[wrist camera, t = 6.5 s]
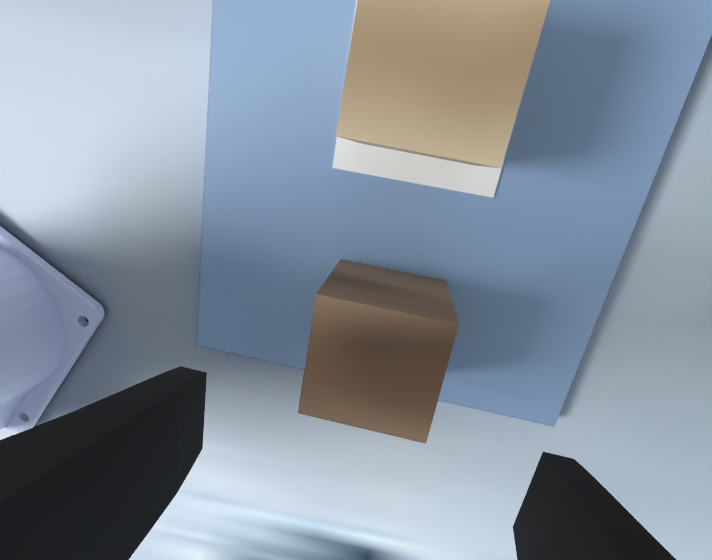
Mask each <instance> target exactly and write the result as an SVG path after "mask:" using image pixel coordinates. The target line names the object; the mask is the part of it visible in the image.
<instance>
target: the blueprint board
mask: <svg viewBox="0 0 712 560" xmlns="http://www.w3.org/2000/svg"><path fill="white" fill-rule="evenodd" d="M356 6H357V0H213V5H212V26H211V48H210V69H209V91H208V113H207V134H206V156H205V178H204V199H203V221H202V243H201V264H200V286H199V308H198V329H197V345H198V346H203V347H207V348H211V349H216V350H220V351H225V352H229V353H233V354H238V355H242V356H247V357H251V358H255V359H260V360H264V361H268V362H273V363H277V364H282V365H286V366H290V367H295V368H299V369H304V370H305V363H306V356H307V349H308V343H309V336H310V329H311V322H312V315H313V309H314V302H315V295H316V293H317V291H318V290H319V289H320V287H321V286H322V284H323V283H324V282H325V280H326V279H327V278H328V276H329V275H330V273H331V272H332V271H333V269H334V268H335V266H336V265H337V264H338V262H339V261H340V259H342V260H347V261H352V262H357V263H362V264H367V265H372V266H377V267H382V268H386V269H391V270H396V271H401V272H406V273H411V274H416V275H421V276H426V277H431V278H435V279H440V280H445V281H447V284H448V287H449V291H450V294H451V298H452V301H453V305H454V308H455V312H456V315H457V319H458V322H459V327H458V330H457V334H456V337H455V341H454V344H453V348H452V352H451V355H450V359H449V362H448V366H447V369H446V373H445V377H444V380H443V384H442V387H441V391H440V394H439V398H438V400H439V401H444V402H448V403H453V404H457V405H461V406H466V407H470V408H474V409H479V410H483V411H488V412H492V413H496V414H501V415H505V416H510V417H514V418H518V419H523V420H527V421H531V422H536V423H540V424H545V425H549V426H553V427H554V426H555V424H556V421H557V419H558V416H559V414H560V411H561V409H562V406H563V404H564V401H565V399H566V396H567V394H568V391H569V389H570V386H571V384H572V381H573V379H574V376H575V374H576V371H577V369H578V366H579V364H580V361H581V359H582V356H583V354H584V351H585V349H586V346H587V344H588V341H589V339H590V336H591V334H592V331H593V329H594V326H595V324H596V321H597V319H598V316H599V314H600V312H601V309H602V307H603V304H604V302H605V299H606V297H607V294H608V292H609V289H610V287H611V284H612V282H613V279H614V277H615V274H616V272H617V269H618V267H619V264H620V262H621V259H622V257H623V254H624V252H625V249H626V247H627V244H628V242H629V239H630V237H631V234H632V232H633V229H634V227H635V224H636V222H637V219H638V217H639V214H640V212H641V209H642V207H643V204H644V202H645V200H646V197H647V195H648V192H649V190H650V187H651V185H652V182H653V180H654V177H655V175H656V172H657V170H658V167H659V165H660V162H661V160H662V157H663V155H664V152H665V150H666V147H667V145H668V142H669V140H670V137H671V135H672V132H673V130H674V127H675V125H676V122H677V120H678V117H679V115H680V112H681V110H682V107H683V105H684V102H685V100H686V97H687V95H688V92H689V90H690V88H691V85H692V83H693V80H694V78H695V75H696V73H697V70H698V68H699V65H700V63H701V60H702V58H703V55H704V53H705V50H706V48H707V45H708V43H709V40H710V38H711V35H712V0H550V3H549V7H548V10H547V14H546V17H545V21H544V24H543V27H542V31H541V34H540V38H539V41H538V44H537V48H536V51H535V55H534V58H533V61H532V65H531V68H530V72H529V75H528V79H527V82H526V85H525V89H524V92H523V96H522V99H521V102H520V106H519V109H518V113H517V116H516V120H515V123H514V126H513V130H512V133H511V137H510V140H509V143H508V147H507V150H506V154H505V157H504V160H503V164H502V167H501V168H495V167H485V166H475V165H470V164H465V163H459V162H454V161H449V160H444V159H439V158H434V157H429V156H423V155H418V154H413V153H408V152H403V151H398V150H393V149H387V148H382V147H377V146H372V145H367V144H362V143H357V142H354V141H351V140H347V139H344V138H341V137H338V136H336V132H337V126H338V119H339V113H340V107H341V101H342V94H343V88H344V82H345V75H346V69H347V63H348V56H349V50H350V44H351V37H352V31H353V25H354V18H355V12H356Z"/></svg>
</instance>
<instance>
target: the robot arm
mask: <svg viewBox="0 0 712 560" xmlns="http://www.w3.org/2000/svg"><path fill="white" fill-rule="evenodd" d="M104 315H105V314H104V309H103V307H102V305H101V304H100V303H99V302H97V301H96V300H95V299H93V298H92V297H91V296H90V295H88V294H87V293H86V292H84V291H83V290H82V289H81V288H79V287H78V286H77V285H75V284H74V283H73V282H72V281H70V280H69V279H68V278H66V277H65V276H64V275H63V274H61V273H60V272H59V271H57V270H56V269H55V268H54V267H52V266H51V265H50V264H48V263H47V262H46V261H45V260H43V259H42V258H41V257H39V256H38V255H37V254H36V253H34V252H33V251H32V250H30V249H29V248H28V247H27V246H25V245H24V244H23V243H21V242H20V241H19V240H18V239H16V238H15V237H14V236H12V235H11V234H10V233H9V232H7V231H6V230H5V229H3V228H2V227H1V226H0V429H2V428H3V427H4V428H5V429H7V430H8V431H9V432H11V433H12V434H14V435H12V436H10V437H7V438H5V439H2V440H0V560H129V558H130V557H131V556H132V554H133V553H134V551H135V550H136V549H137V547H138V546H139V545H140V543H141V542H142V541H143V539H144V538H145V537H146V535H147V534H148V532H149V531H150V530H151V528H152V527H153V526H154V524H155V523H156V521H157V520H158V519H159V517H160V516H161V515H162V513H163V512H164V510H165V509H166V508H167V506H168V505H169V503H170V502H171V501H172V499H173V498H174V496H175V495H176V494H177V492H178V490H179V489H180V487H181V485H182V483H183V482H184V480H185V478H186V477H187V475H188V473H189V472H190V470H191V468H192V466H193V464H194V463H195V461H196V459H197V457H198V455H199V454H200V452H201V450H202V446H203V428H204V410H205V392H206V374H207V373H206V372H201V371H197V370H193V369H189V368H184V367H178V368H175V369H172V370H170V371H167V372H165V373H162V374H160V375H157V376H155V377H153V378H150V379H148V380H146V381H143V382H141V383H139V384H136V385H134V386H132V387H130V388H127V389H125V390H123V391H120V392H118V393H116V394H113V395H111V396H109V397H106V398H104V399H102V400H99V401H97V402H95V403H92V404H90V405H88V406H85V407H83V408H81V409H78V410H76V411H74V412H71V413H69V414H66V415H64V416H61V417H58V418H56V419H53V420H51V421H48V422H46V423H43V424H41V425H38V426H35V424H36V423H37V421H38V419H39V418H40V416H41V415H42V413H43V412H44V410H45V408H46V407H47V405H48V404H49V402H50V401H51V399H52V397H53V396H54V394H55V393H56V391H57V390H58V388H59V387H60V385H61V383H62V382H63V380H64V379H65V377H66V376H67V374H68V372H69V371H70V369H71V368H72V366H73V365H74V363H75V361H76V360H77V358H78V357H79V355H80V354H81V352H82V351H83V349H84V347H85V346H86V344H87V343H88V341H89V340H90V338H91V336H92V335H93V333H94V332H95V330H96V329H97V327H98V325H99V324H100V322H101V321H102V319H103V317H104ZM85 317H86V318H87V319H88V322H87V321H86V319H85ZM34 426H35V427H34ZM513 530H514V537H515V545H516V552H517V559H518V560H676V559H675V558H674V557H673V556H672V555H671V554H670V553H669V552H668V551H667V550H666V549H665V548H664V547H663V546H662V545H661V544H660V543H659V542H658V541H657V540H656V539H655V538H654V537H653V536H652V535H651V534H650V533H649V532H648V531H647V530H646V529H645V528H644V527H643V526H642V525H641V524H640V523H639V522H638V521H637V520H636V519H635V518H634V517H633V516H632V515H631V514H630V513H629V512H628V511H627V510H626V509H625V508H624V507H623V506H622V505H621V504H620V503H619V502H618V501H617V500H616V499H615V498H614V497H613V496H612V495H611V494H610V493H609V492H608V491H607V490H606V489H605V488H604V487H603V486H602V485H601V484H600V483H599V482H598V481H597V480H596V479H595V478H594V477H593V476H592V475H591V474H590V473H589V472H588V471H587V470H586V469H584V468H583V467H582V466H581V465H580V464H579V463H578V462H577V461H576V460H574V459H572V458H567V457H563V456H559V455H555V454H550V453H546V452H543V453H542V456H541V458H540V461H539V463H538V466H537V468H536V471H535V473H534V476H533V478H532V481H531V483H530V486H529V488H528V491H527V493H526V496H525V498H524V501H523V503H522V506H521V508H520V511H519V513H518V516H517V518H516V521H515V523H514V526H513Z"/></svg>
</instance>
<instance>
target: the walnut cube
mask: <svg viewBox="0 0 712 560" xmlns="http://www.w3.org/2000/svg"><path fill="white" fill-rule="evenodd" d="M458 327H459V322H458V319H457V315H456V312H455V308H454V305H453V301H452V298H451V294H450V291H449V287H448V284H447V281H445V280H440V279H435V278H431V277H426V276H421V275H416V274H411V273H406V272H401V271H396V270H391V269H386V268H382V267H377V266H372V265H367V264H362V263H357V262H352V261H347V260H342V259H340V261H339V262H338V264H337V265H336V266H335V268H334V269H333V271H332V272H331V273H330V275H329V276H328V278H327V279H326V280H325V282H324V283H323V284H322V286H321V287H320V289H319V290H318V291H317V293H316V295H315V302H314V309H313V315H312V322H311V329H310V336H309V343H308V349H307V356H306V363H305V370H304V376H303V383H302V390H301V397H300V403H299V410H298V413H300V414H304V415H308V416H312V417H317V418H321V419H325V420H329V421H333V422H338V423H342V424H346V425H350V426H354V427H359V428H363V429H367V430H371V431H376V432H380V433H384V434H388V435H392V436H397V437H401V438H405V439H409V440H413V441H418V442H422V443H426V441H427V437H428V434H429V430H430V427H431V423H432V419H433V416H434V412H435V409H436V405H437V402H438V398H439V394H440V391H441V387H442V384H443V380H444V377H445V373H446V369H447V366H448V362H449V359H450V355H451V352H452V348H453V344H454V341H455V337H456V334H457V330H458Z"/></svg>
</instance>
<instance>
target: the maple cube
mask: <svg viewBox="0 0 712 560" xmlns="http://www.w3.org/2000/svg"><path fill="white" fill-rule="evenodd" d="M549 3H550V0H357V6H356V12H355V18H354V25H353V31H352V37H351V44H350V50H349V56H348V63H347V69H346V75H345V82H344V88H343V94H342V101H341V107H340V113H339V119H338V126H337V132H336V136H338V137H341V138H344V139H347V140H351V141H354V142H357V143H362V144H367V145H372V146H377V147H382V148H387V149H393V150H398V151H403V152H408V153H413V154H418V155H423V156H429V157H434V158H439V159H444V160H449V161H454V162H459V163H465V164H470V165H475V166H485V167H495V168H501V167H502V164H503V160H504V157H505V154H506V150H507V147H508V143H509V140H510V137H511V133H512V130H513V126H514V123H515V120H516V116H517V113H518V109H519V106H520V102H521V99H522V96H523V92H524V89H525V85H526V82H527V79H528V75H529V72H530V68H531V65H532V61H533V58H534V55H535V51H536V48H537V44H538V41H539V38H540V34H541V31H542V27H543V24H544V21H545V17H546V14H547V10H548V7H549Z"/></svg>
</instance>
